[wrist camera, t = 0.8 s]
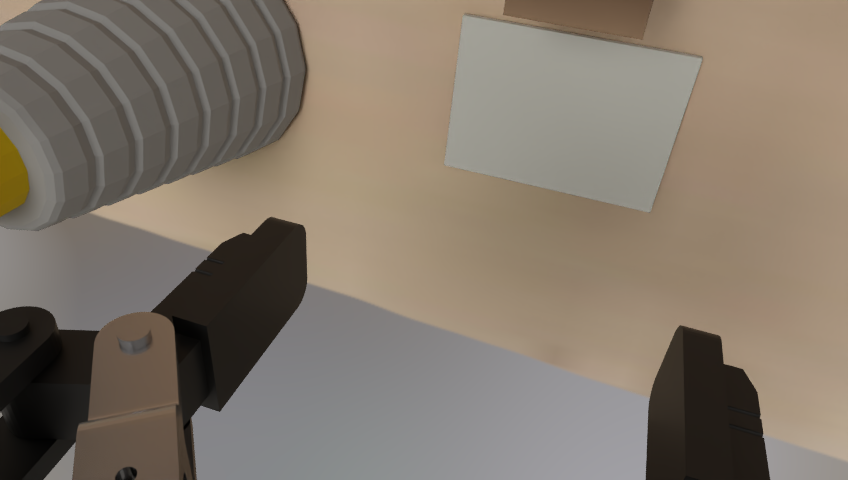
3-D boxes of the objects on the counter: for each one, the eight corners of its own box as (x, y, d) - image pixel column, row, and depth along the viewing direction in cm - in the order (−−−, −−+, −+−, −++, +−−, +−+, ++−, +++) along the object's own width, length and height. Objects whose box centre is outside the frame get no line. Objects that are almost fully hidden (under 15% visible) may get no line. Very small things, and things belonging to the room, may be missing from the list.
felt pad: (465, 13, 31) (462, 15, 31) (702, 56, 29) (702, 58, 28) (446, 162, 35) (444, 165, 35) (650, 209, 33) (650, 212, 33)
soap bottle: (341, 10, 33) (14, 187, 16) (270, 188, 40) (-4, 434, 24) (131, -121, 33) (-412, -73, 16) (99, 82, 40) (-296, 257, 24)
